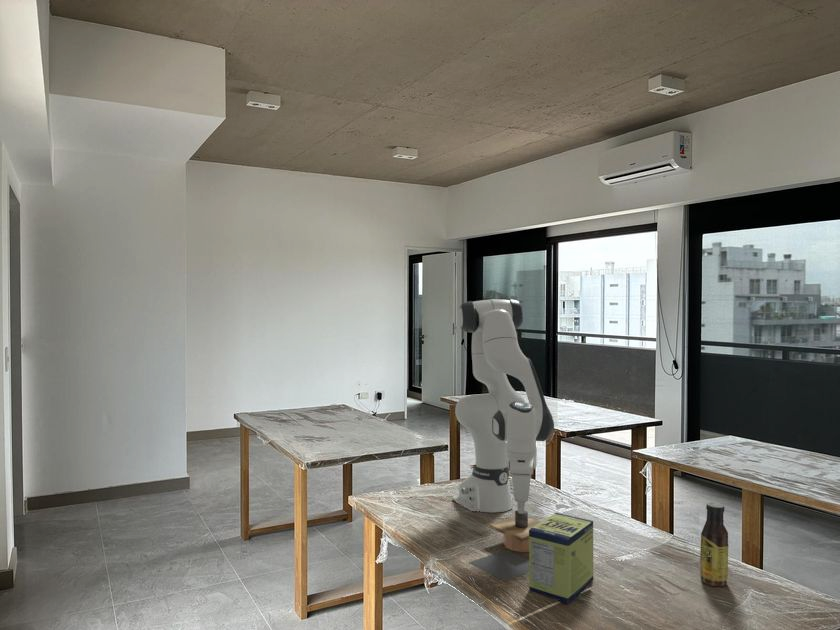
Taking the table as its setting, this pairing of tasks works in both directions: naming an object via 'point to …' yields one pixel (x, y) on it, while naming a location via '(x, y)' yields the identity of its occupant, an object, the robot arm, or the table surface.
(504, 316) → the robot arm
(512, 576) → the mat
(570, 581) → the protein box
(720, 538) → the sauce bottle
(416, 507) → the table surface
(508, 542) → the bowl
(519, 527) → the lid
